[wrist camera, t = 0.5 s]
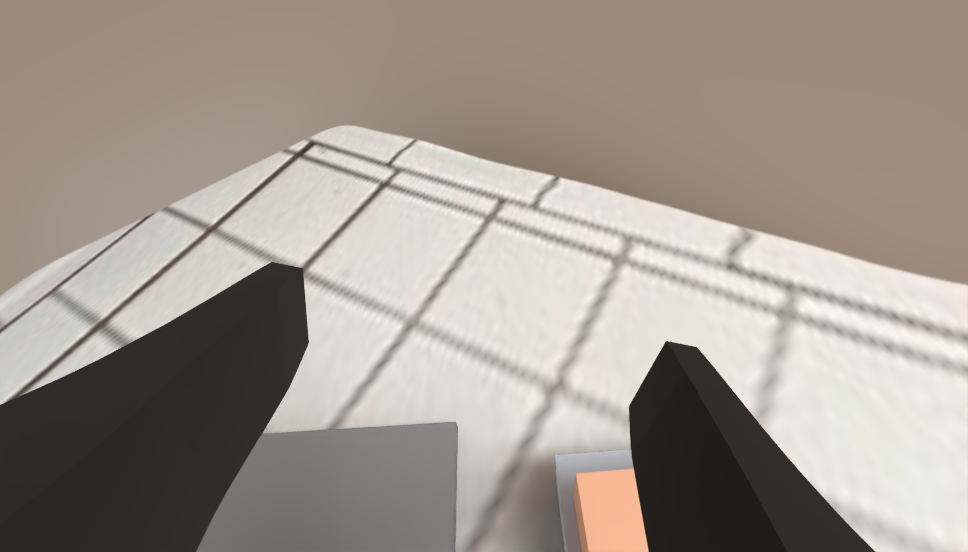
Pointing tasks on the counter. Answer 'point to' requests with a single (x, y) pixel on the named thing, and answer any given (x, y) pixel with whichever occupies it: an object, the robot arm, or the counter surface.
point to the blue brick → (565, 485)
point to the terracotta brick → (609, 512)
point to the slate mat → (343, 493)
